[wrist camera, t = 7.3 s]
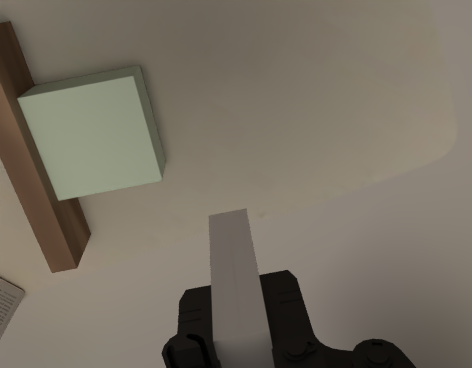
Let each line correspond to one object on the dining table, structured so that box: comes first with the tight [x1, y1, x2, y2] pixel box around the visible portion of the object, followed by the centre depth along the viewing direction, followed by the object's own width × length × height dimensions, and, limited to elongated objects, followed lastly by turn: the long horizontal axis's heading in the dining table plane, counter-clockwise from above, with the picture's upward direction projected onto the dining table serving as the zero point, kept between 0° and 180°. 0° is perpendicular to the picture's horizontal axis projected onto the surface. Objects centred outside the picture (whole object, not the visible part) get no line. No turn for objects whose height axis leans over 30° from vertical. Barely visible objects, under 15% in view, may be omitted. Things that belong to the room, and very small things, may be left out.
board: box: [0, 21, 91, 273], centre depth 33 cm, size 2×18×5 cm, turn 10°
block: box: [17, 65, 166, 201], centre depth 34 cm, size 8×8×4 cm
